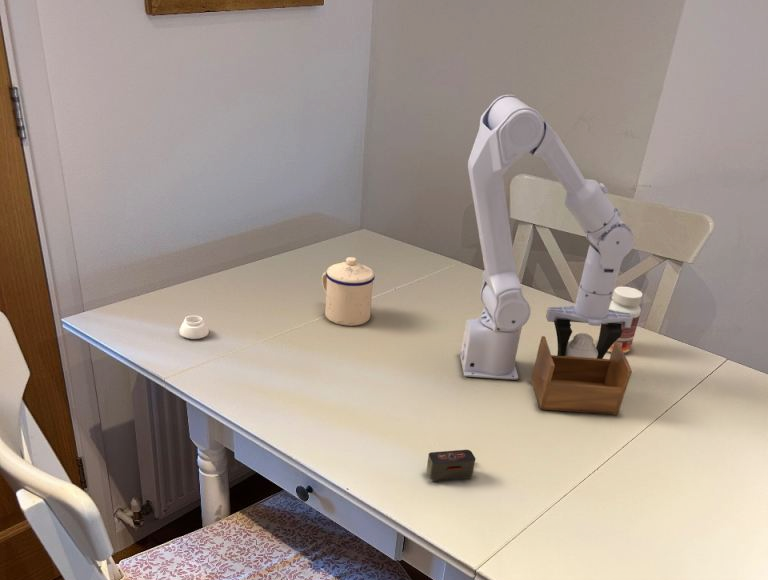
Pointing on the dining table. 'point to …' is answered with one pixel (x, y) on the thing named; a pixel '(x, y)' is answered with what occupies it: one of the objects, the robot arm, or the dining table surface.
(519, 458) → the dining table surface
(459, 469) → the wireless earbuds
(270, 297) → the dining table surface
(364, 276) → the teacup with lid
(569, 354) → the white swirled dome
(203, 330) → the white jar
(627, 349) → the pill bottle
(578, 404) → the wooden crate
